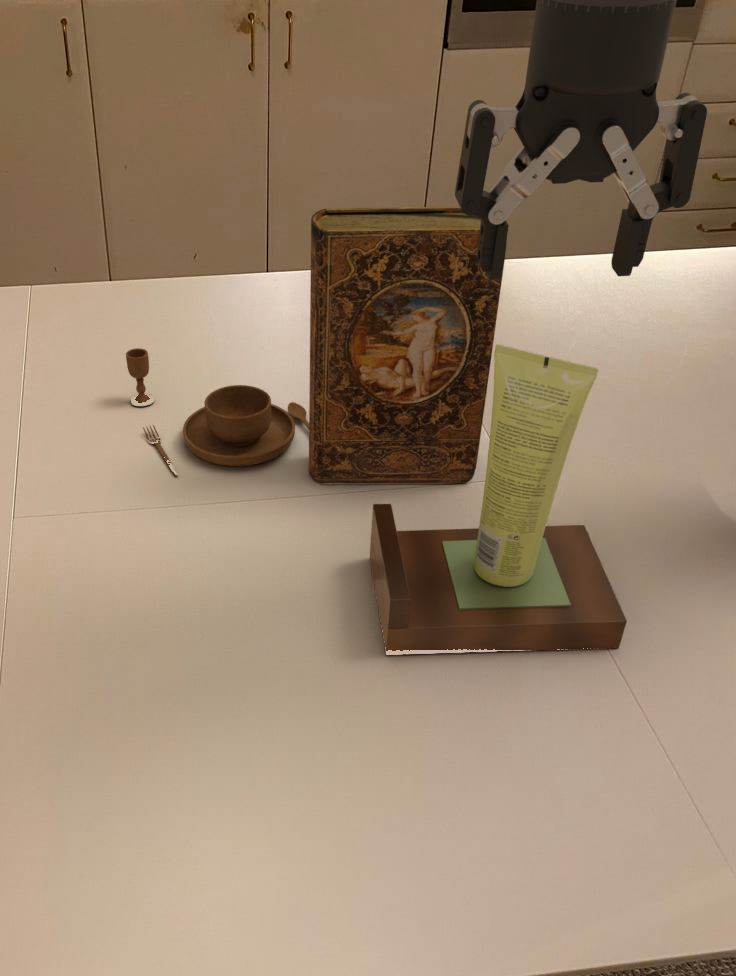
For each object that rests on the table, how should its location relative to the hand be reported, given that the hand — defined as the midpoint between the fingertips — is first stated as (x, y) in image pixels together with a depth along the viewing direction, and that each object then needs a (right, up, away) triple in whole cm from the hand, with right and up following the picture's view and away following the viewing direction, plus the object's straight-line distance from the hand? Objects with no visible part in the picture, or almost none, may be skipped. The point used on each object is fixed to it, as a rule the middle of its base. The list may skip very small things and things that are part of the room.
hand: (556, 273), depth 66 cm
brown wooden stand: (0, -21, +19) cm, 29 cm away
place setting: (-24, -1, +43) cm, 49 cm away
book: (-6, -7, +35) cm, 36 cm away
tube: (+1, -19, +17) cm, 26 cm away
